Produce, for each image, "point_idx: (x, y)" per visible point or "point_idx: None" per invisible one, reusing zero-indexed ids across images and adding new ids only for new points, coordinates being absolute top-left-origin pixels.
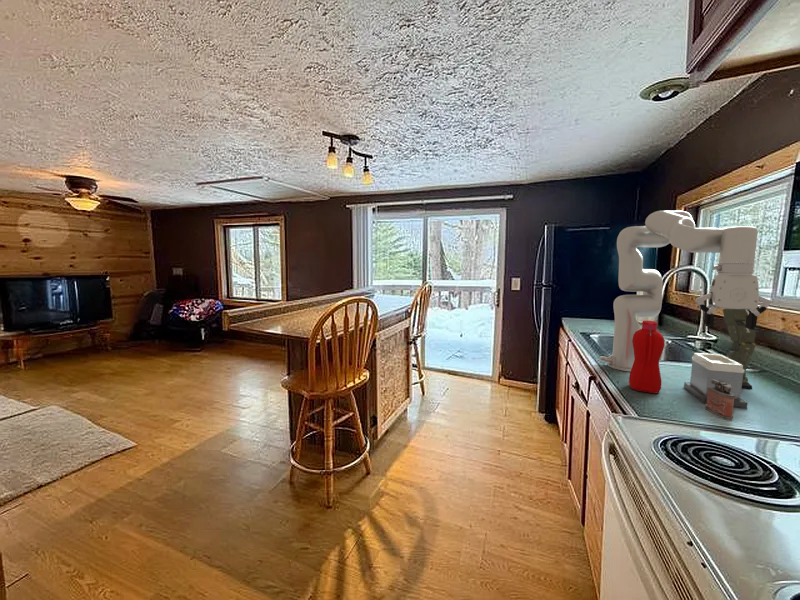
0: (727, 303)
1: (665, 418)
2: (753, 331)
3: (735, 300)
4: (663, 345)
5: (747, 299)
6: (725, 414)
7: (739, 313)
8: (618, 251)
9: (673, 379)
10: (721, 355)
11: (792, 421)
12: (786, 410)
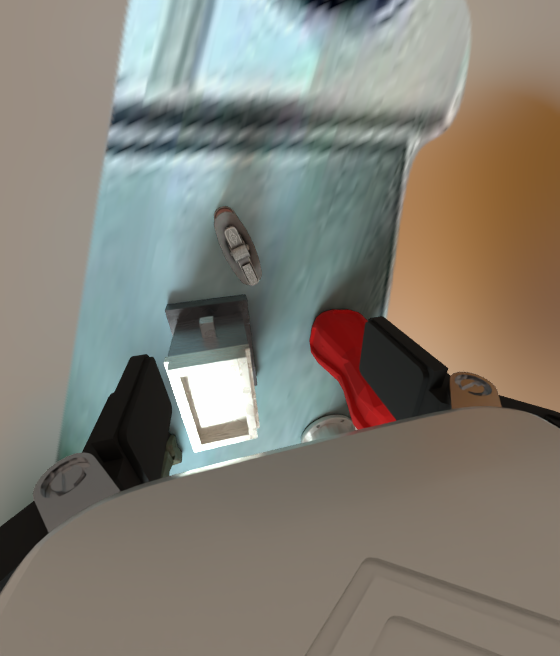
0: (479, 478)
1: (355, 153)
2: None
3: (423, 594)
4: (369, 385)
5: None
6: (230, 210)
7: None
8: None
9: (261, 412)
10: (197, 445)
11: (89, 263)
12: (89, 333)
